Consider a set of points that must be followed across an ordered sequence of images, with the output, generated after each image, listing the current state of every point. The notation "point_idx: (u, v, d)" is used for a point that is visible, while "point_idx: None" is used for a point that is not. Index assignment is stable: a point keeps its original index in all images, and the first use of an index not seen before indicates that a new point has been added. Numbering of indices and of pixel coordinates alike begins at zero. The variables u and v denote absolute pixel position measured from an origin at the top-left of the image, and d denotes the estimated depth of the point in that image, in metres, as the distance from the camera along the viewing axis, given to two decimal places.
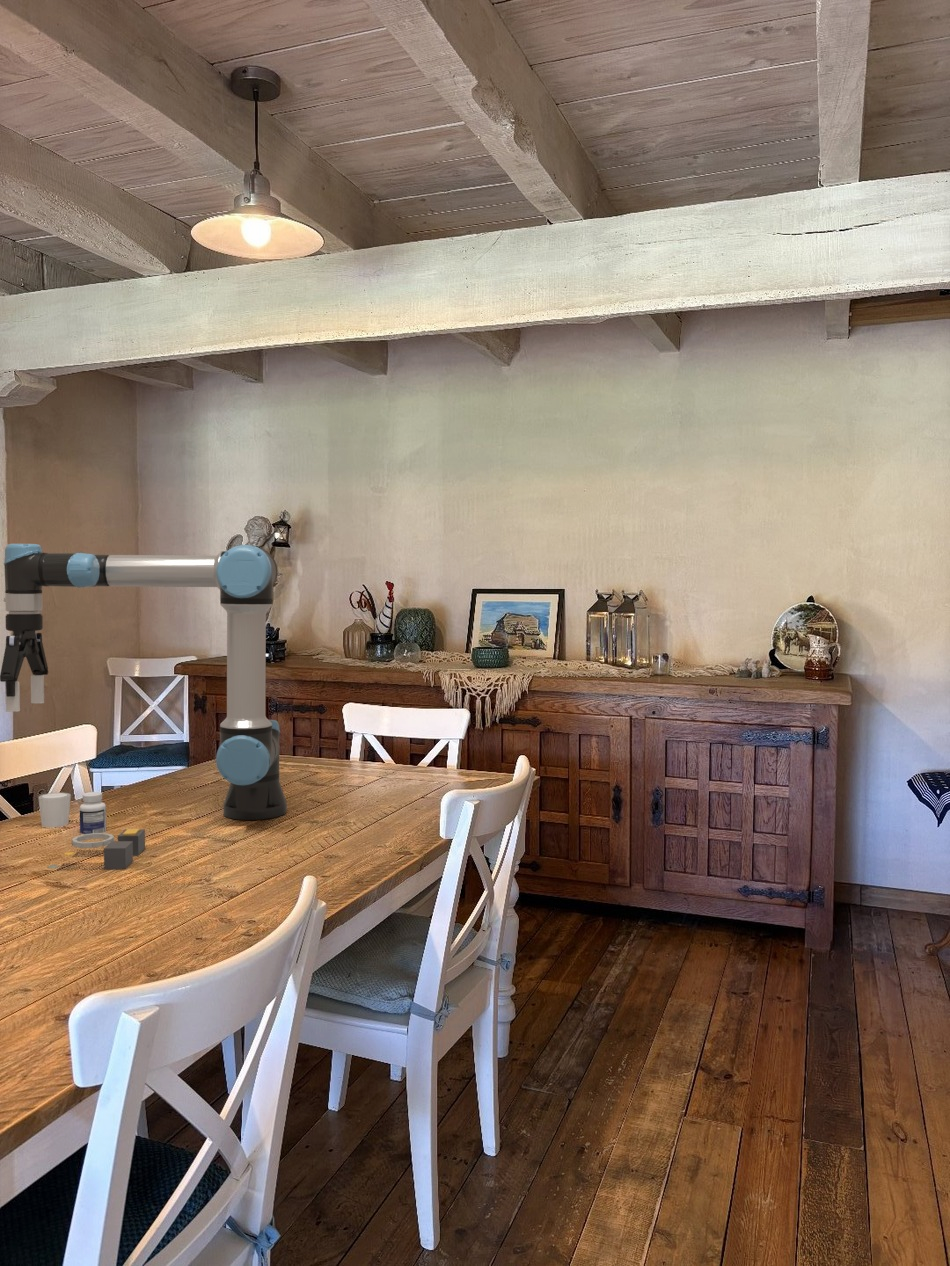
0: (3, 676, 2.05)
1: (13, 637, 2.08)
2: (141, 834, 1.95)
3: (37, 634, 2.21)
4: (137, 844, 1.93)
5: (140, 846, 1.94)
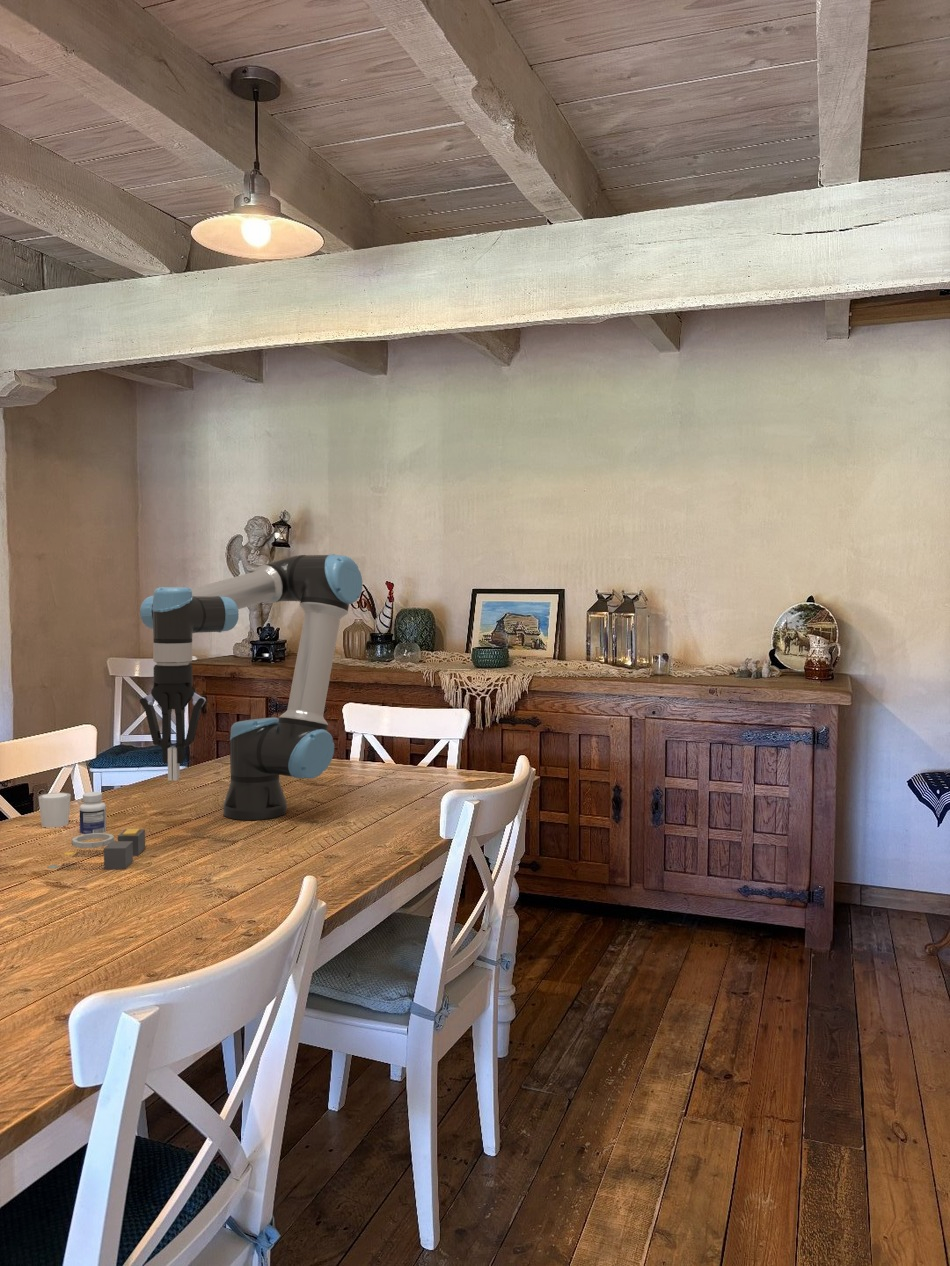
0: None
1: None
2: (141, 834, 1.95)
3: (200, 698, 1.94)
4: (137, 844, 1.93)
5: (140, 846, 1.94)
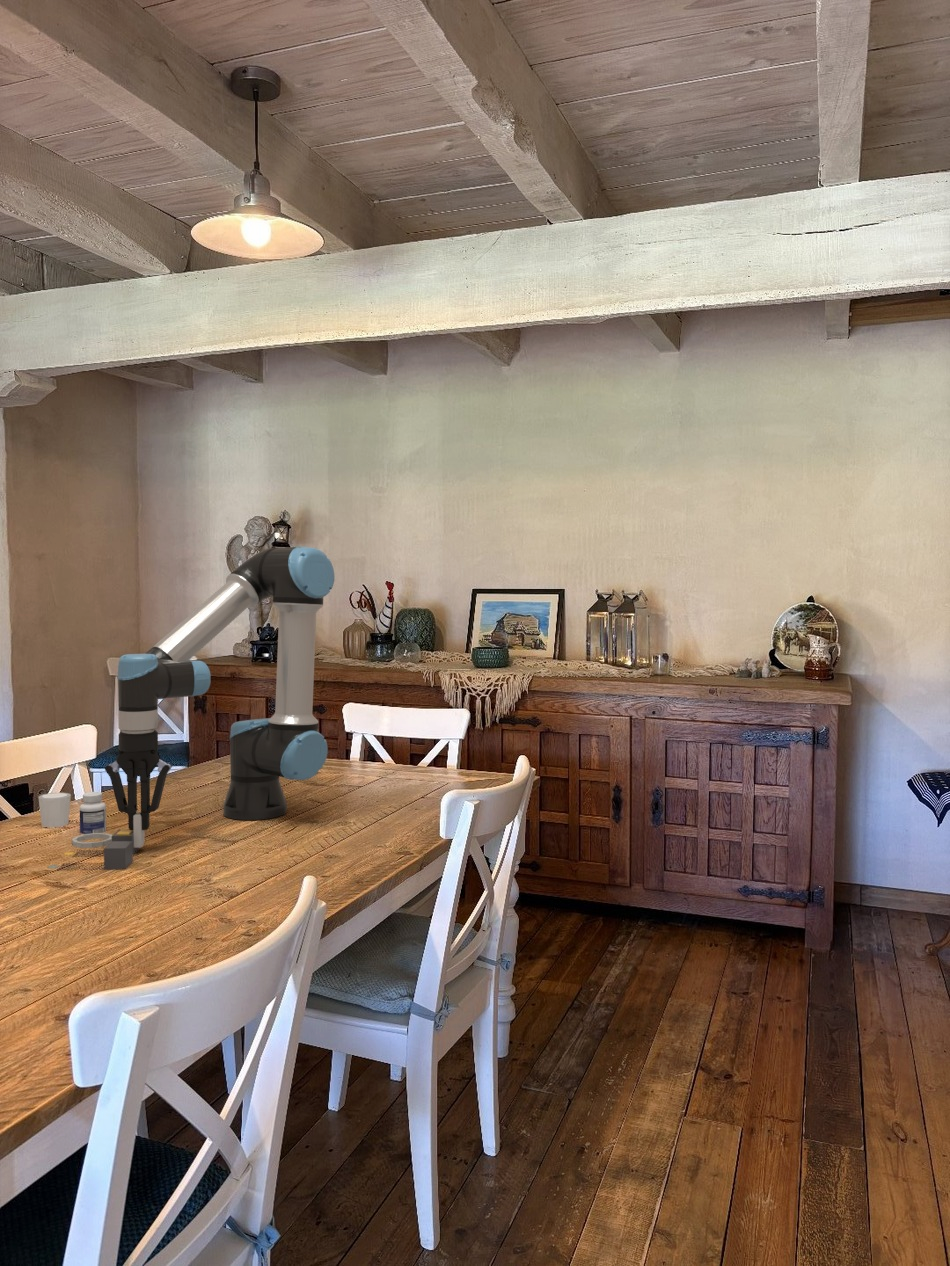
0: None
1: None
2: None
3: (165, 765, 1.94)
4: None
5: None
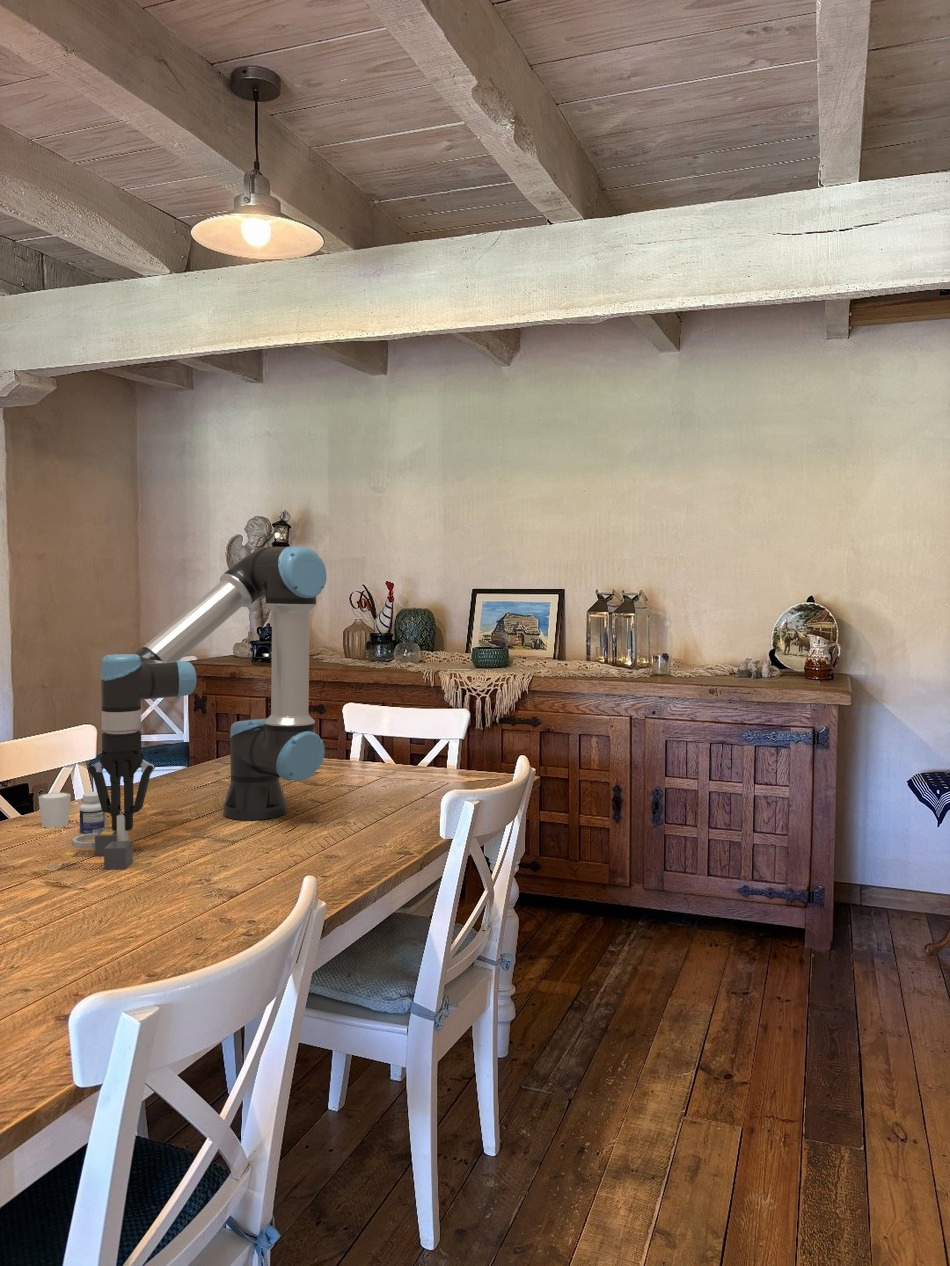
0: None
1: None
2: None
3: (148, 765, 1.94)
4: None
5: None
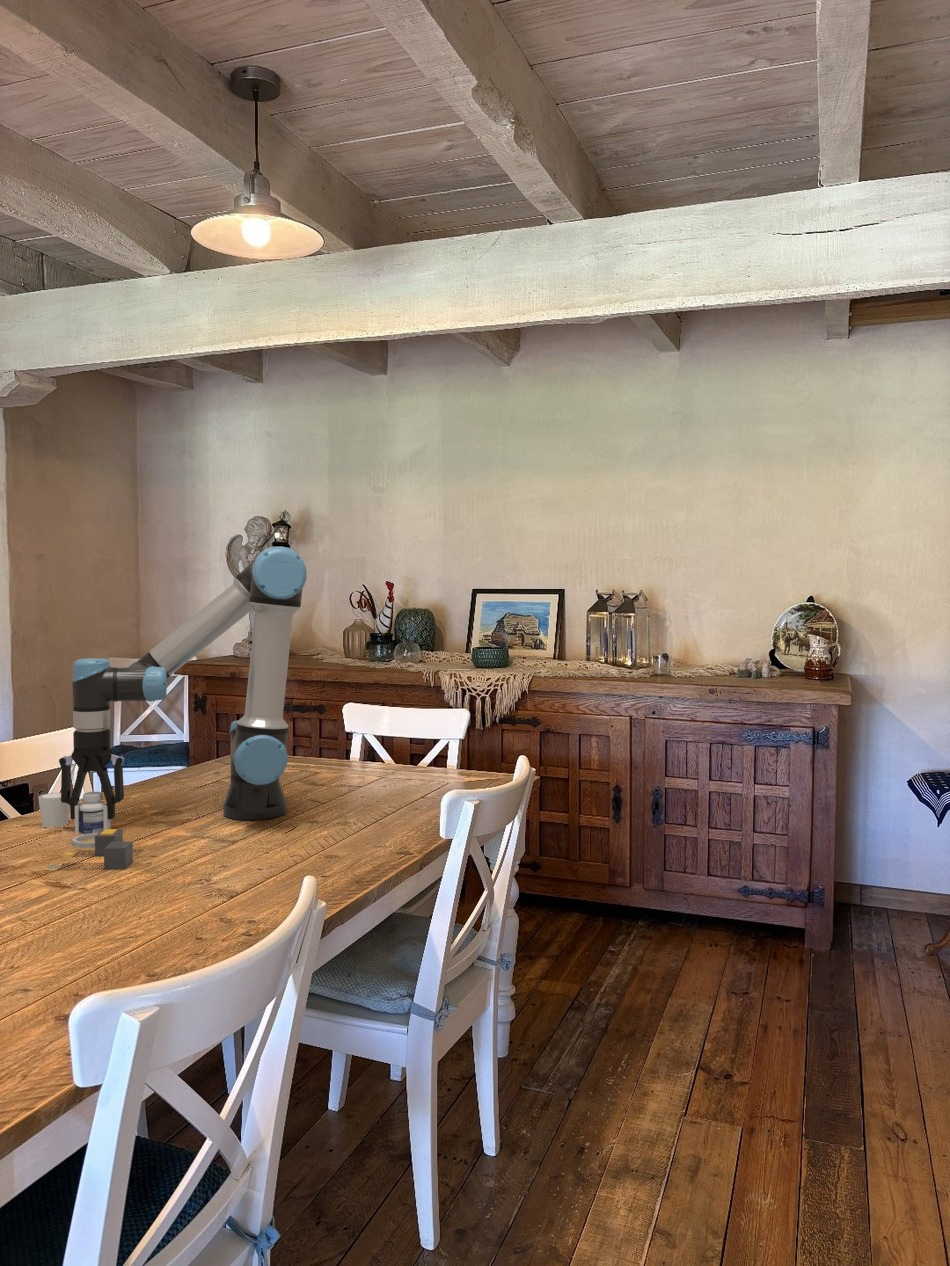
0: None
1: None
2: (118, 834, 1.95)
3: (118, 758, 2.10)
4: None
5: None
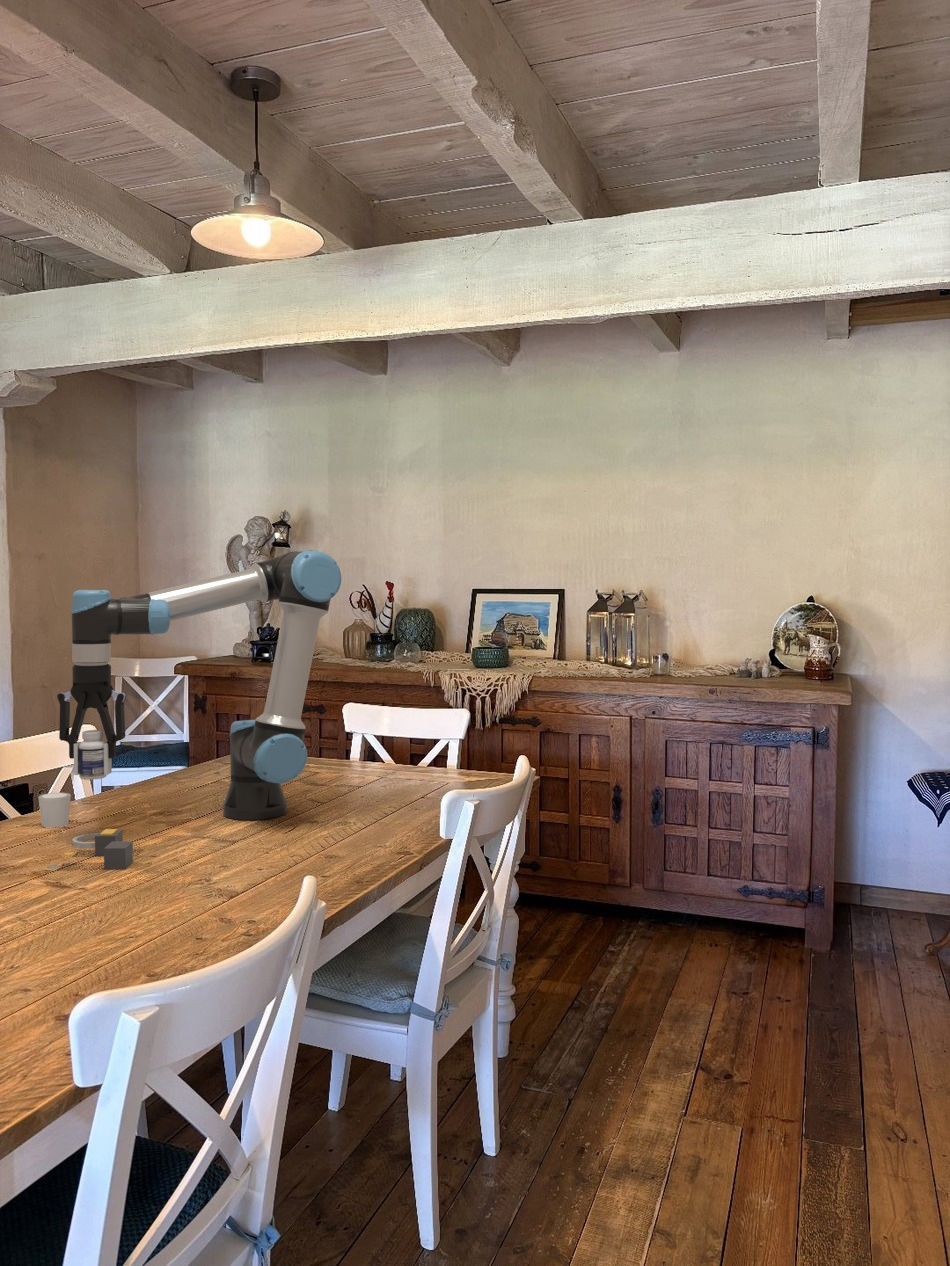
0: None
1: None
2: (118, 834, 1.95)
3: (119, 694, 2.00)
4: None
5: None
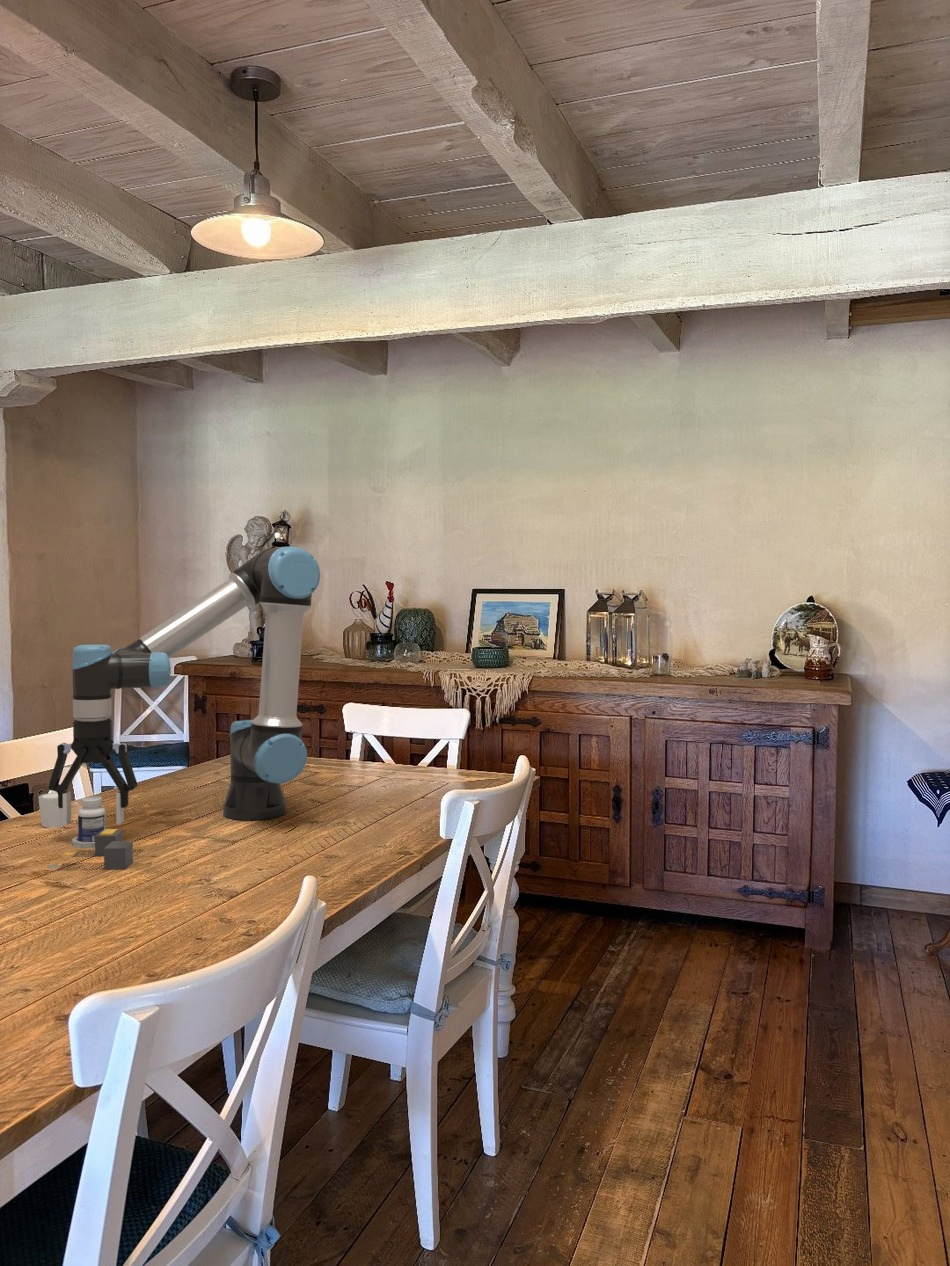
0: None
1: None
2: (118, 834, 1.95)
3: (120, 745, 2.01)
4: None
5: None
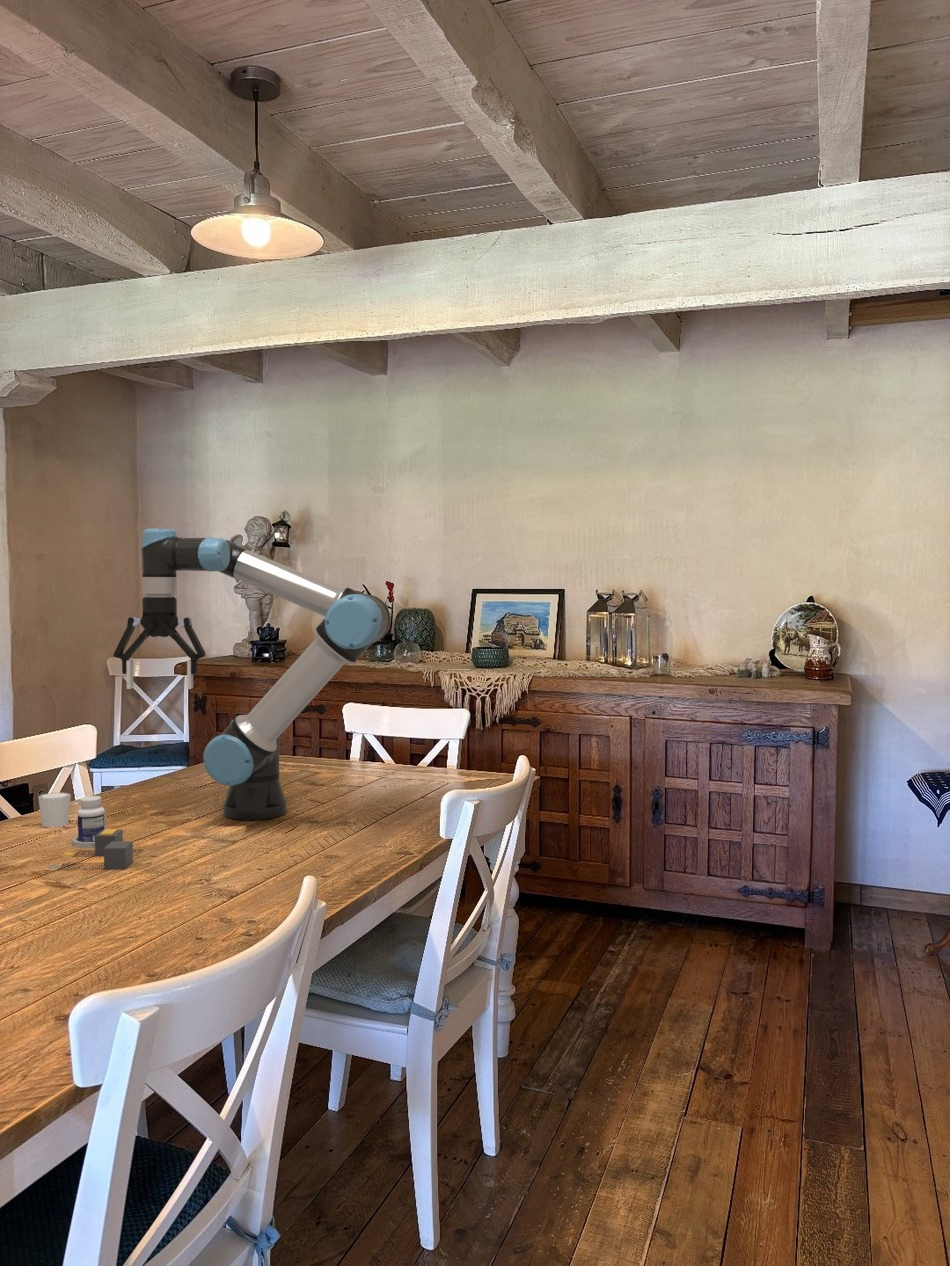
0: None
1: (129, 618, 2.20)
2: (118, 834, 1.95)
3: (184, 619, 2.20)
4: None
5: None
